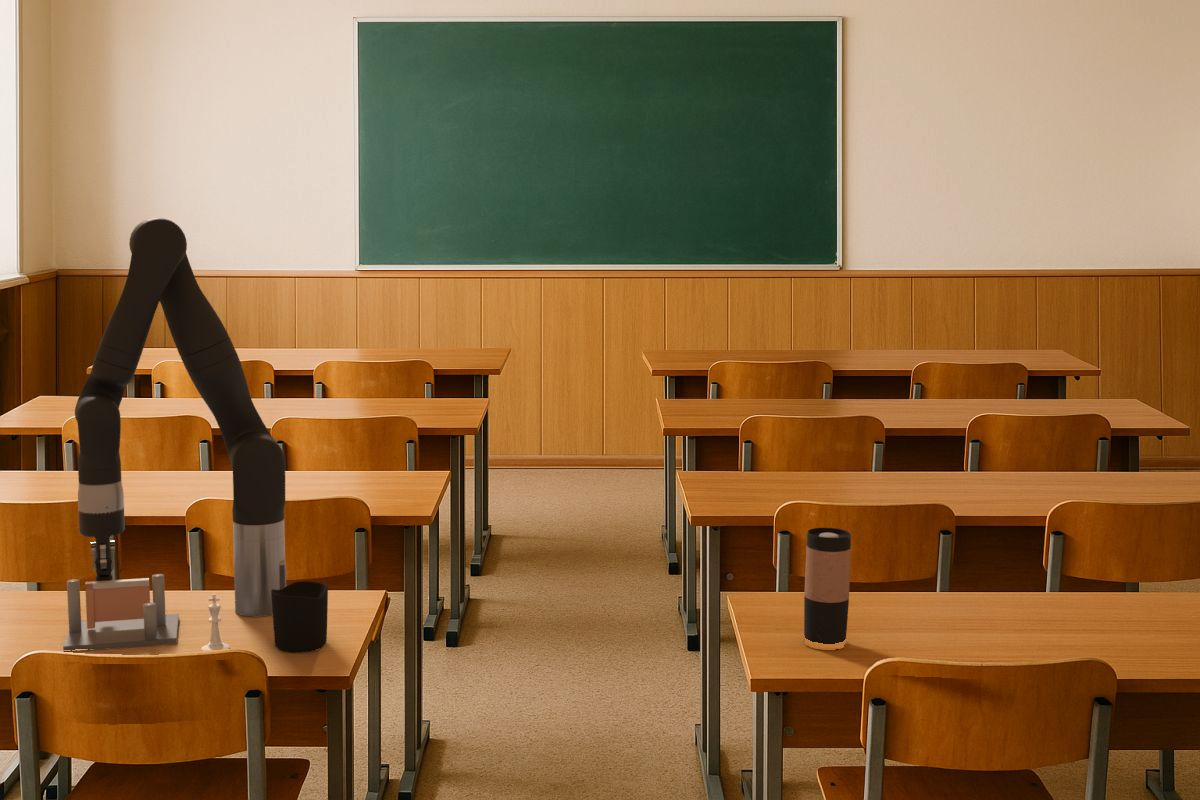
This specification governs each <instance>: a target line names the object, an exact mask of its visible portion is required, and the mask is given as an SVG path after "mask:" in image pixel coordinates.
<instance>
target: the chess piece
mask: <svg viewBox="0 0 1200 800" xmlns="http://www.w3.org/2000/svg"><path fill="white" fill-rule="evenodd" d="M211 595H212V597H208V601H209V602H212V603H211V604H209V605H208V606H207V608H208V611H209V614H210V617H209V618H208V620H207V621H208V622H209V623H211V630H210V631H211V632H210V641H209V642H208V644H205V645H203V646H202V647H201V648H200V652H201V651H211V650H221V649H231V646H230V644H229V643H225V642H223V640H221V636H220V635H221V634H220V628H219V622H221V621H222V617H219V614H220V610H221V604H219V603H217V602H219V601H220V600H221V599H220V597H216V595H217V594H216V593H213V594H211Z"/></svg>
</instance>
